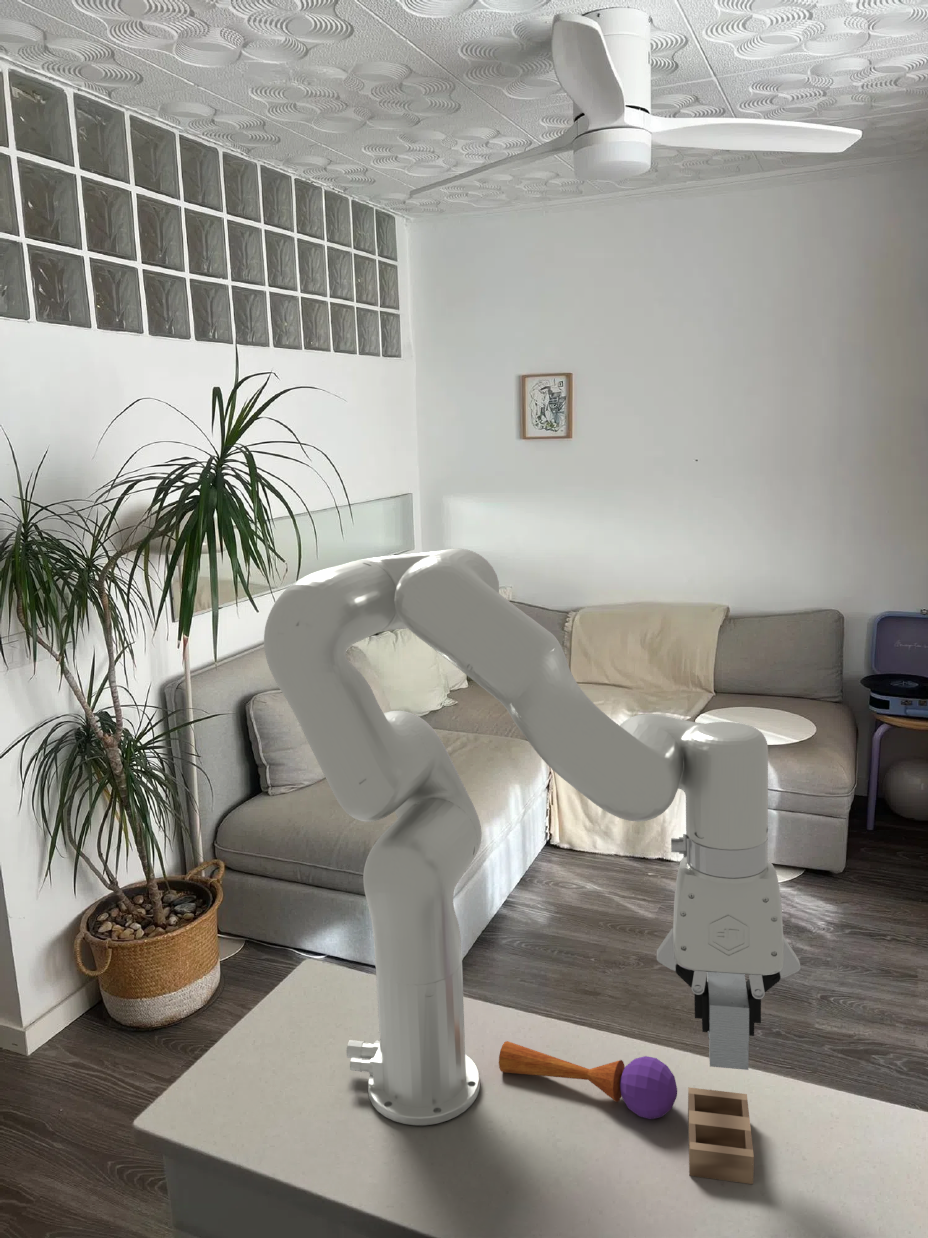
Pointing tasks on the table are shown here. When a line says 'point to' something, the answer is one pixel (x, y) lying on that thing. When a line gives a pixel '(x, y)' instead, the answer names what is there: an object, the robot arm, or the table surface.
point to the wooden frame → (719, 1136)
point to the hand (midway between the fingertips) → (727, 1024)
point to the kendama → (603, 1077)
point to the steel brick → (728, 1020)
